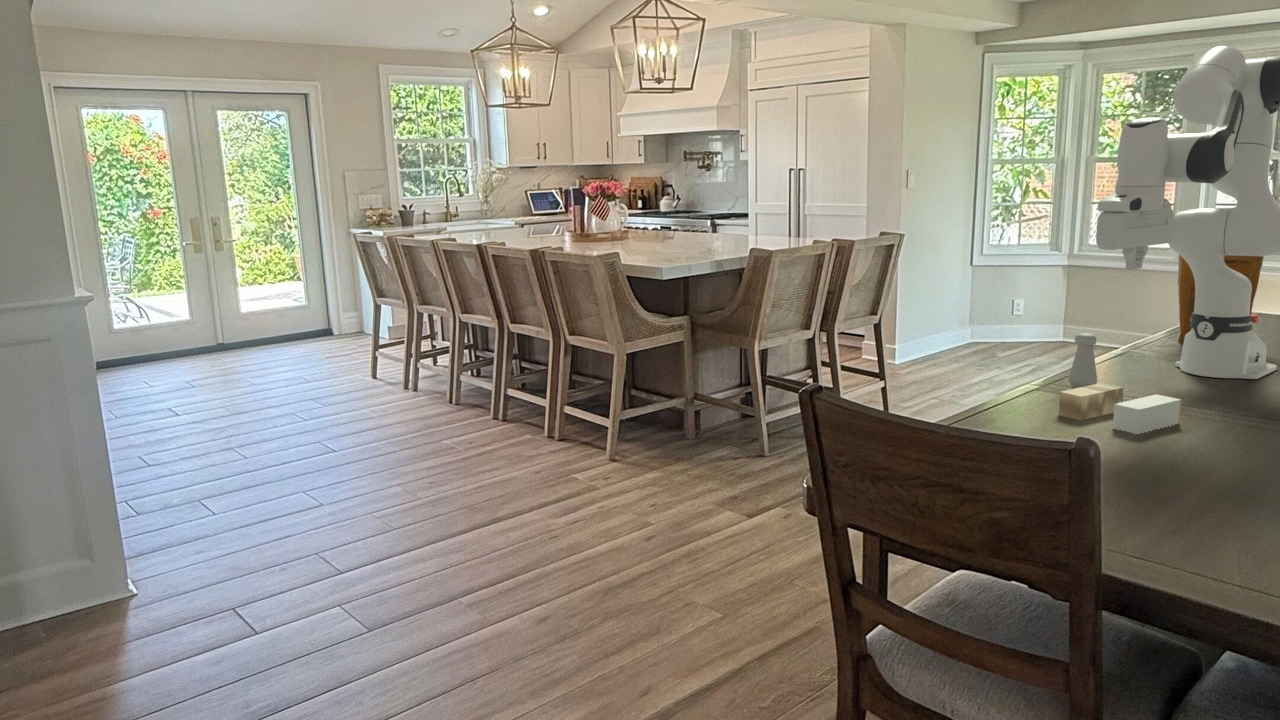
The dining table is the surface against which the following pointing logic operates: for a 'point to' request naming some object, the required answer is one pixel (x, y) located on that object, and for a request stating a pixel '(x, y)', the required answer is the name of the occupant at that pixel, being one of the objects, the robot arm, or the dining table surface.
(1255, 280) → the pancake mix bag
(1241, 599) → the dining table surface
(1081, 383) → the salt shaker
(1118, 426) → the white block
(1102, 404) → the maple block
